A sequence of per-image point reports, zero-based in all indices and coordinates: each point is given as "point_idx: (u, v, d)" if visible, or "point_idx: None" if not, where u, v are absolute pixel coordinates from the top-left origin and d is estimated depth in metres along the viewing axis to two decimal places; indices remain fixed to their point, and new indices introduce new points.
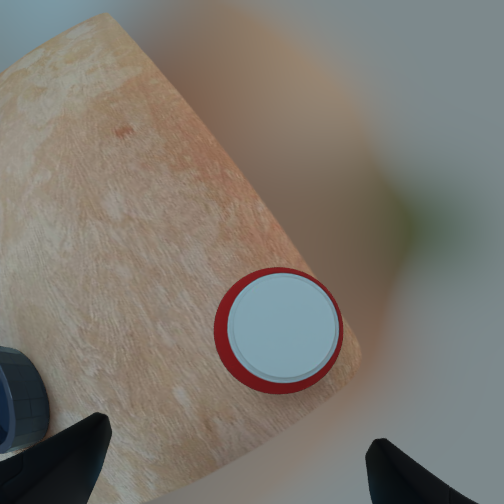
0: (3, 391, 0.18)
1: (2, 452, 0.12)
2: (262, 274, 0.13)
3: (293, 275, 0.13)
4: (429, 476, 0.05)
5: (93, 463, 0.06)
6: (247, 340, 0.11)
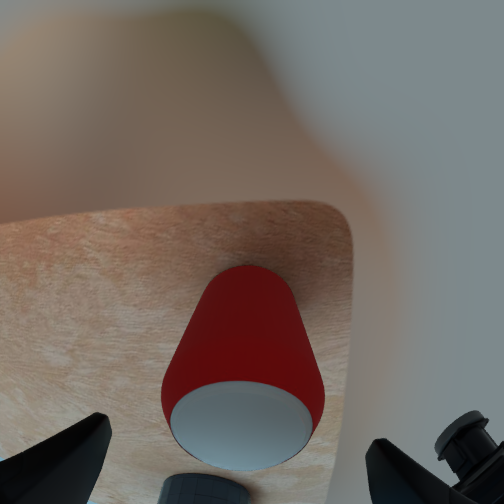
0: None
1: None
2: (167, 416, 0.09)
3: (183, 400, 0.08)
4: (429, 476, 0.05)
5: (93, 463, 0.06)
6: (233, 464, 0.08)
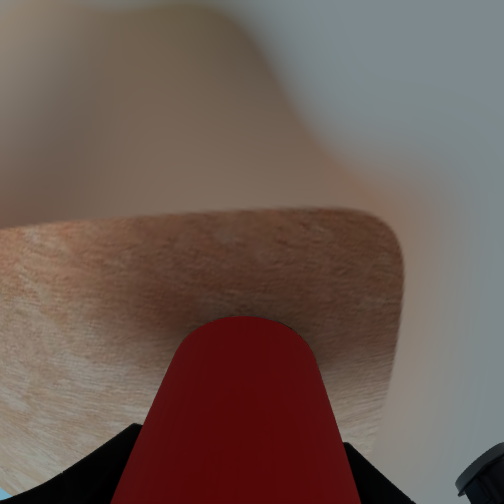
0: None
1: None
2: None
3: None
4: (390, 486, 0.05)
5: None
6: None
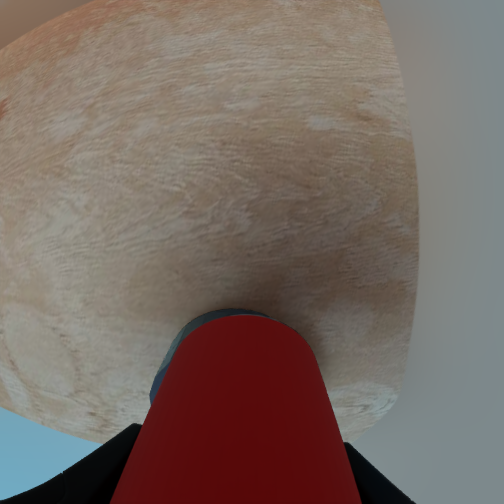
0: None
1: None
2: None
3: None
4: (390, 486, 0.05)
5: None
6: None
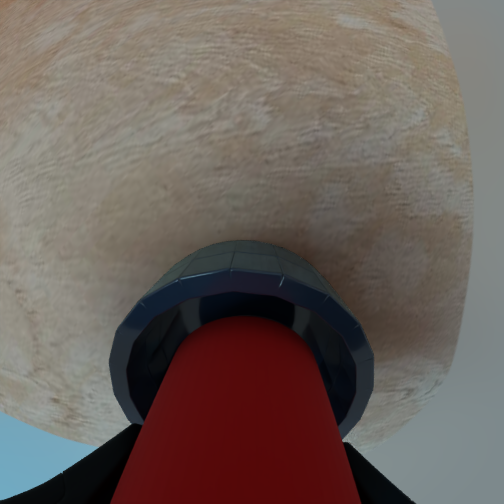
0: None
1: (370, 390, 0.10)
2: None
3: None
4: (390, 486, 0.05)
5: None
6: None
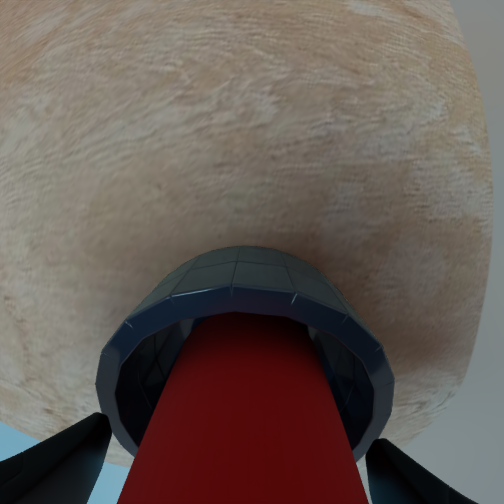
0: None
1: (388, 414, 0.08)
2: None
3: None
4: (429, 476, 0.05)
5: (93, 463, 0.06)
6: None
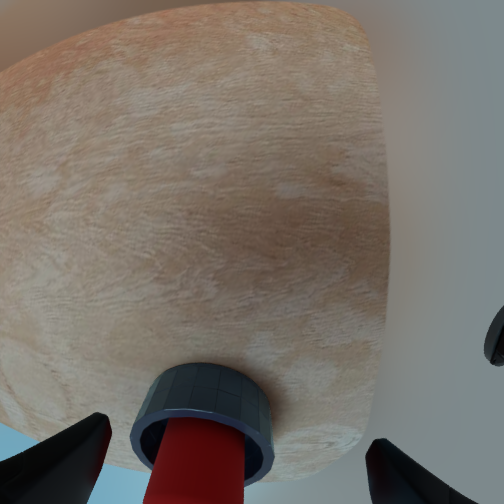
0: None
1: (272, 458, 0.17)
2: None
3: None
4: (429, 475, 0.05)
5: (93, 463, 0.06)
6: None
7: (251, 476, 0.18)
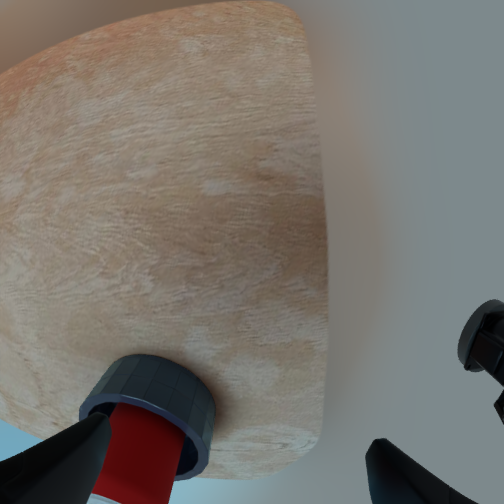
0: None
1: (206, 452, 0.17)
2: None
3: None
4: (429, 475, 0.05)
5: (93, 463, 0.06)
6: None
7: (191, 469, 0.18)
